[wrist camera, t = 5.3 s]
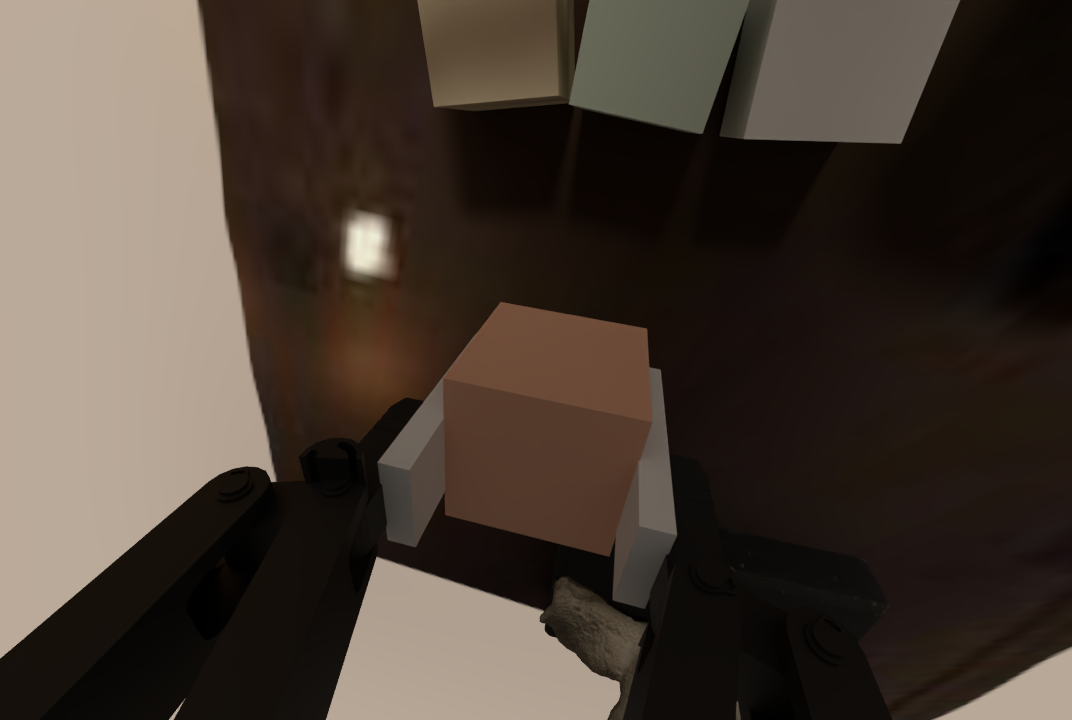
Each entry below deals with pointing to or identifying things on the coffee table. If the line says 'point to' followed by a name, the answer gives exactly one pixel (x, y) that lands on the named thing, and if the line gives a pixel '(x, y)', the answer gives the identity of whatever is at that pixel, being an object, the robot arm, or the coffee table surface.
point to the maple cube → (499, 52)
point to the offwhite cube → (833, 68)
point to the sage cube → (655, 59)
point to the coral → (759, 563)
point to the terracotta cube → (547, 425)
